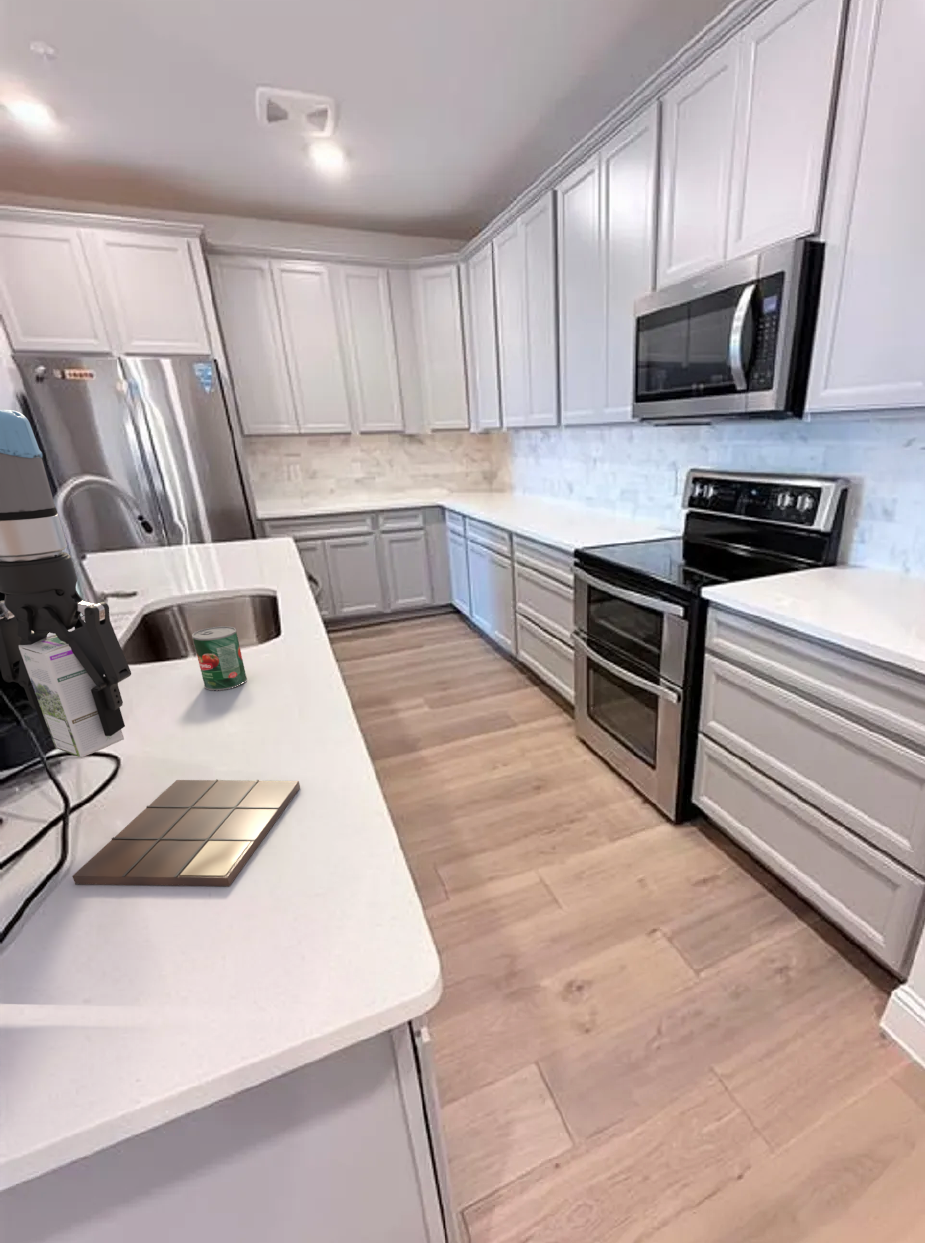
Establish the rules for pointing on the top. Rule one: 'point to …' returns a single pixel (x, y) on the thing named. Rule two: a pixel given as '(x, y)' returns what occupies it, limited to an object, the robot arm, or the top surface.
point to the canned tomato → (219, 657)
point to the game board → (191, 835)
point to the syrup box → (65, 697)
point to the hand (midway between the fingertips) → (85, 730)
